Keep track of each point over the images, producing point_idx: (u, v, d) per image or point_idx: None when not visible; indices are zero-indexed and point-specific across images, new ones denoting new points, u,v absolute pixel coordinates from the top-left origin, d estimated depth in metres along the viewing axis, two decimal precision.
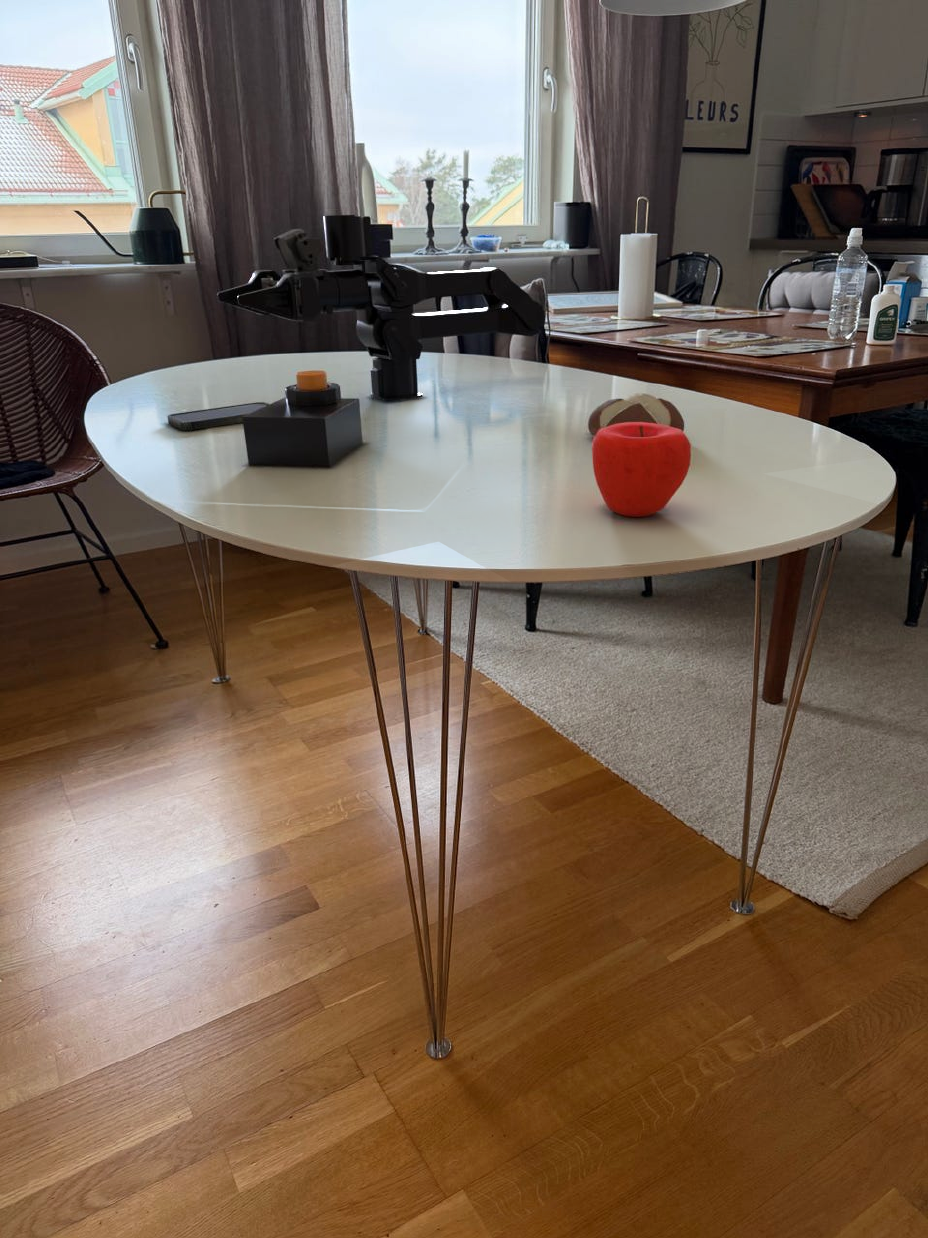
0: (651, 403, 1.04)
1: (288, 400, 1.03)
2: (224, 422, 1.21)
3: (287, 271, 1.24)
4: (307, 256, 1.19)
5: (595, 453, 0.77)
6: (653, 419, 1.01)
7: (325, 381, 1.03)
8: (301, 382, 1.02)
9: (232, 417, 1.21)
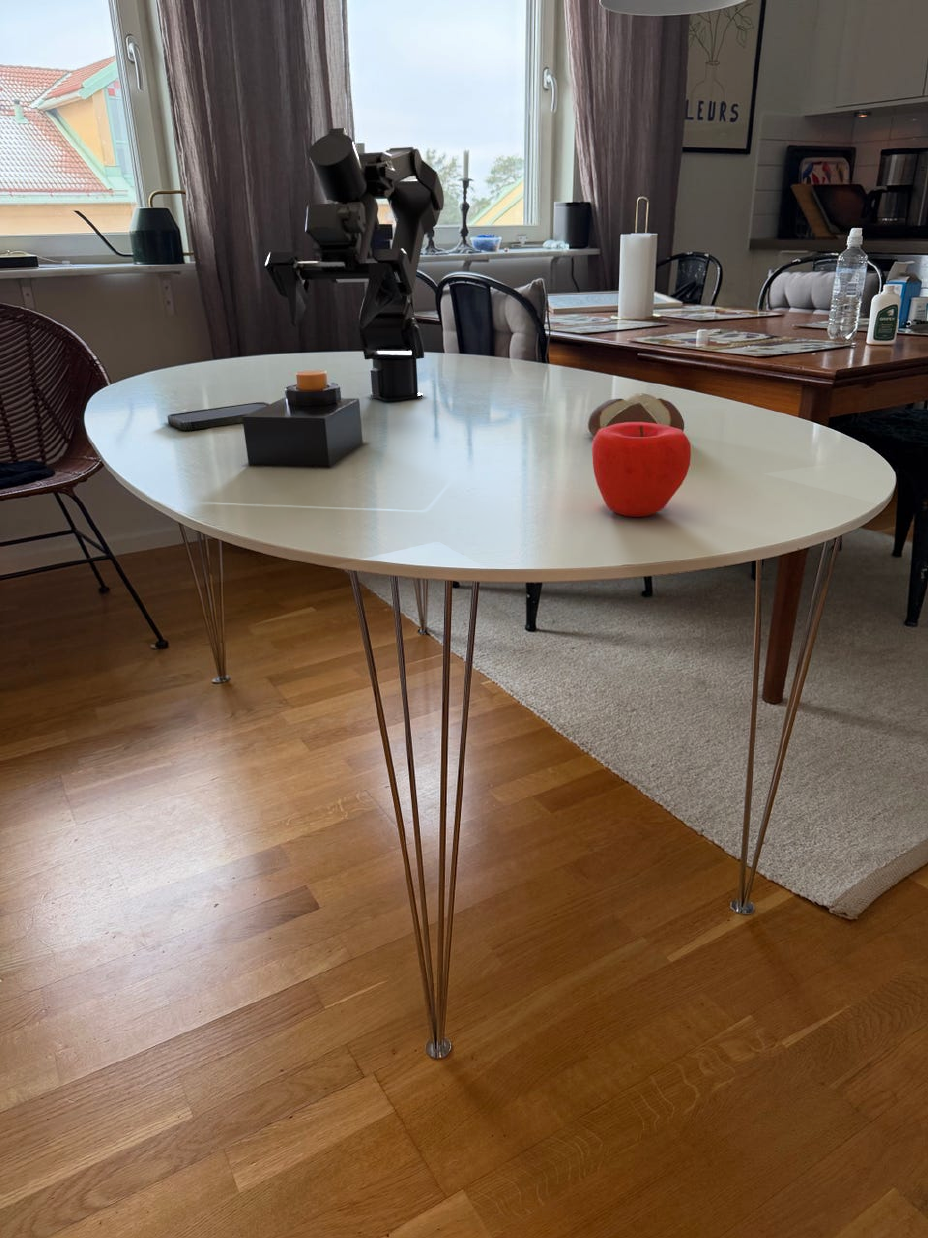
0: (651, 403, 1.04)
1: (288, 400, 1.03)
2: (224, 422, 1.21)
3: (321, 247, 1.10)
4: (363, 228, 1.07)
5: (595, 453, 0.77)
6: (653, 419, 1.01)
7: (325, 381, 1.03)
8: (301, 382, 1.02)
9: (232, 417, 1.21)
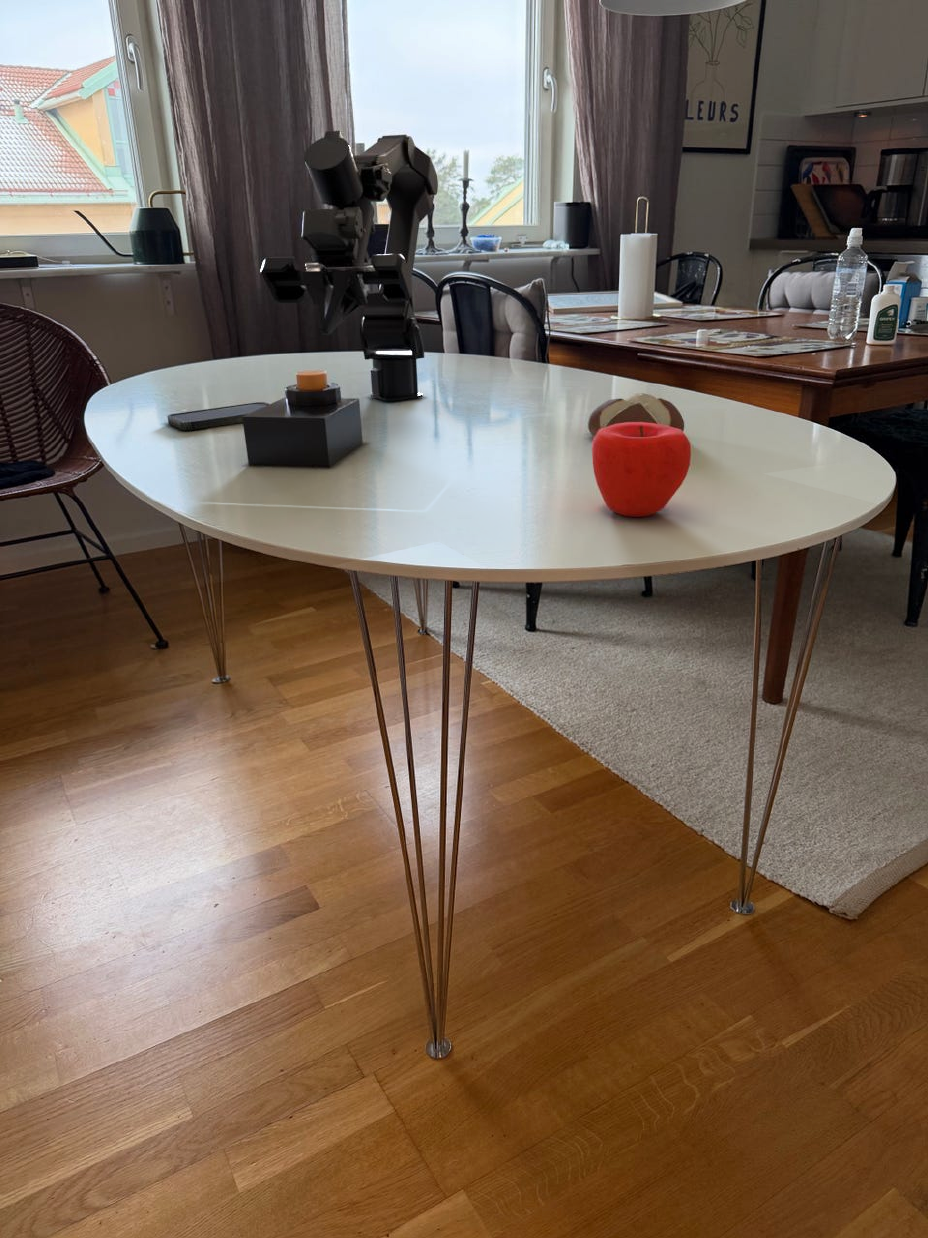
0: (651, 403, 1.04)
1: (288, 400, 1.03)
2: (224, 422, 1.21)
3: (318, 252, 1.08)
4: (360, 233, 1.05)
5: (595, 453, 0.77)
6: (653, 419, 1.01)
7: (325, 381, 1.03)
8: (301, 382, 1.02)
9: (232, 417, 1.21)
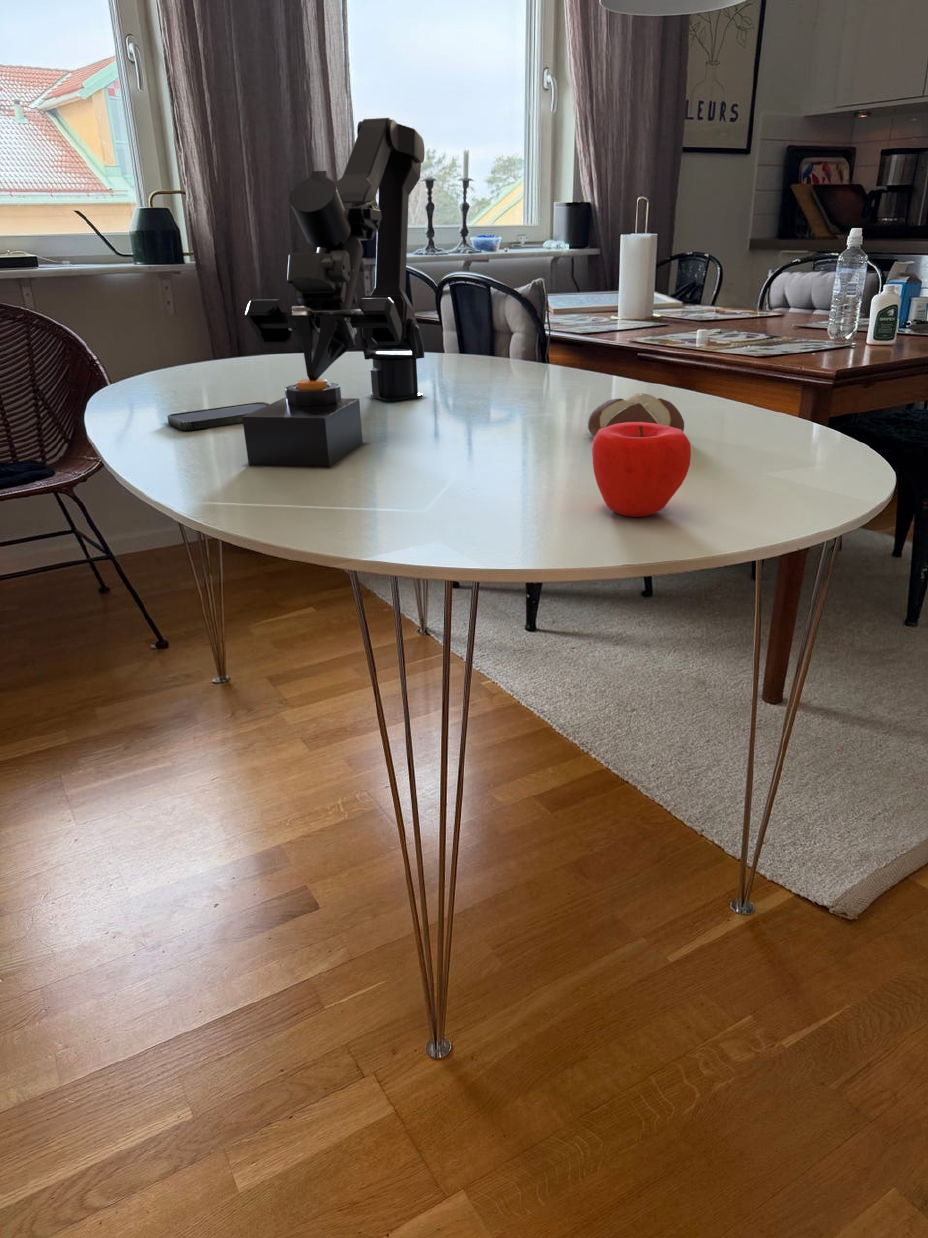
0: (651, 403, 1.04)
1: (288, 400, 1.03)
2: (224, 422, 1.21)
3: (304, 295, 1.04)
4: (348, 277, 1.02)
5: (595, 453, 0.77)
6: (653, 419, 1.01)
7: None
8: None
9: (232, 417, 1.21)
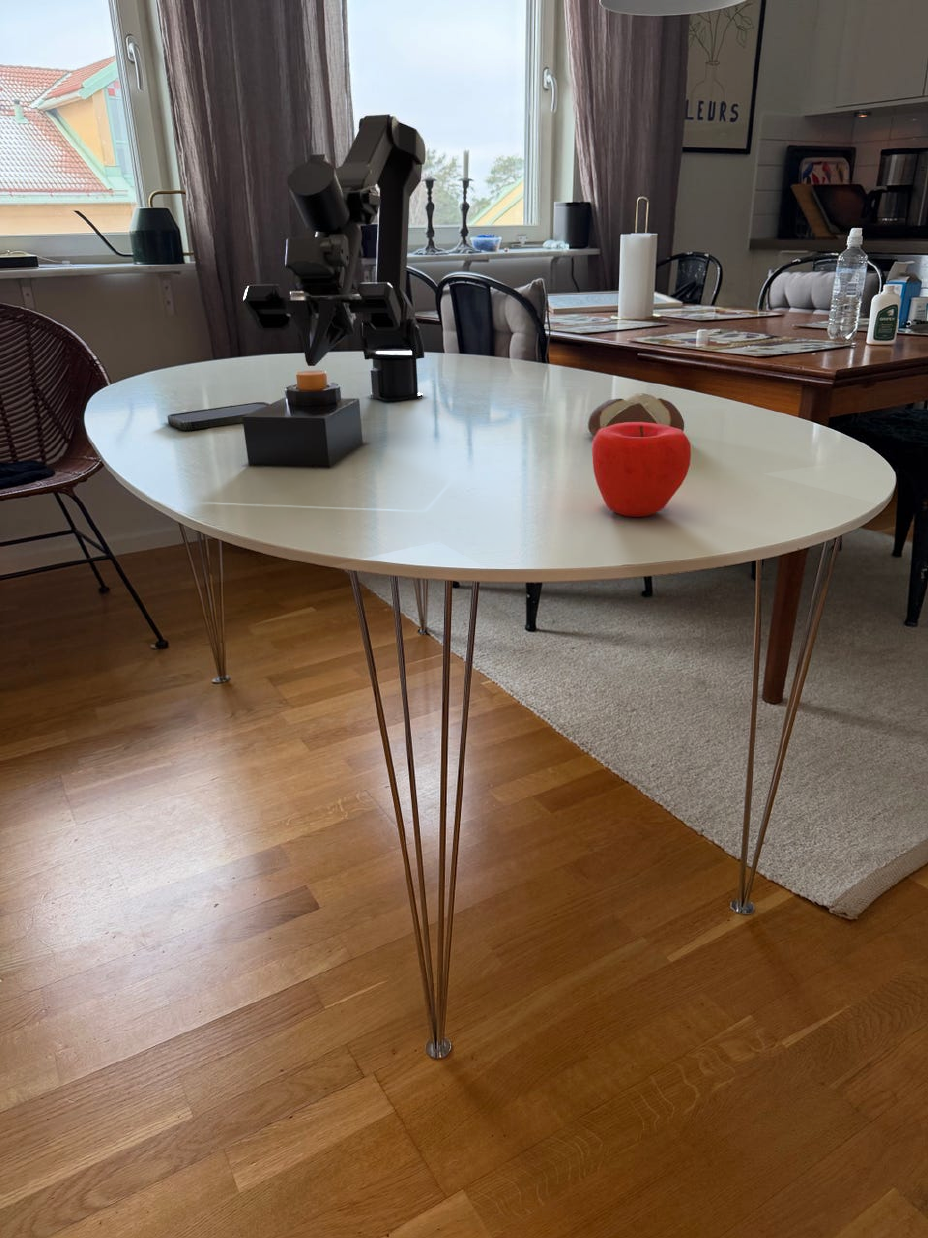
0: (651, 403, 1.04)
1: (288, 400, 1.03)
2: (224, 422, 1.21)
3: (302, 280, 1.04)
4: (347, 261, 1.01)
5: (595, 453, 0.77)
6: (653, 419, 1.01)
7: (325, 381, 1.03)
8: (301, 382, 1.02)
9: (232, 417, 1.21)
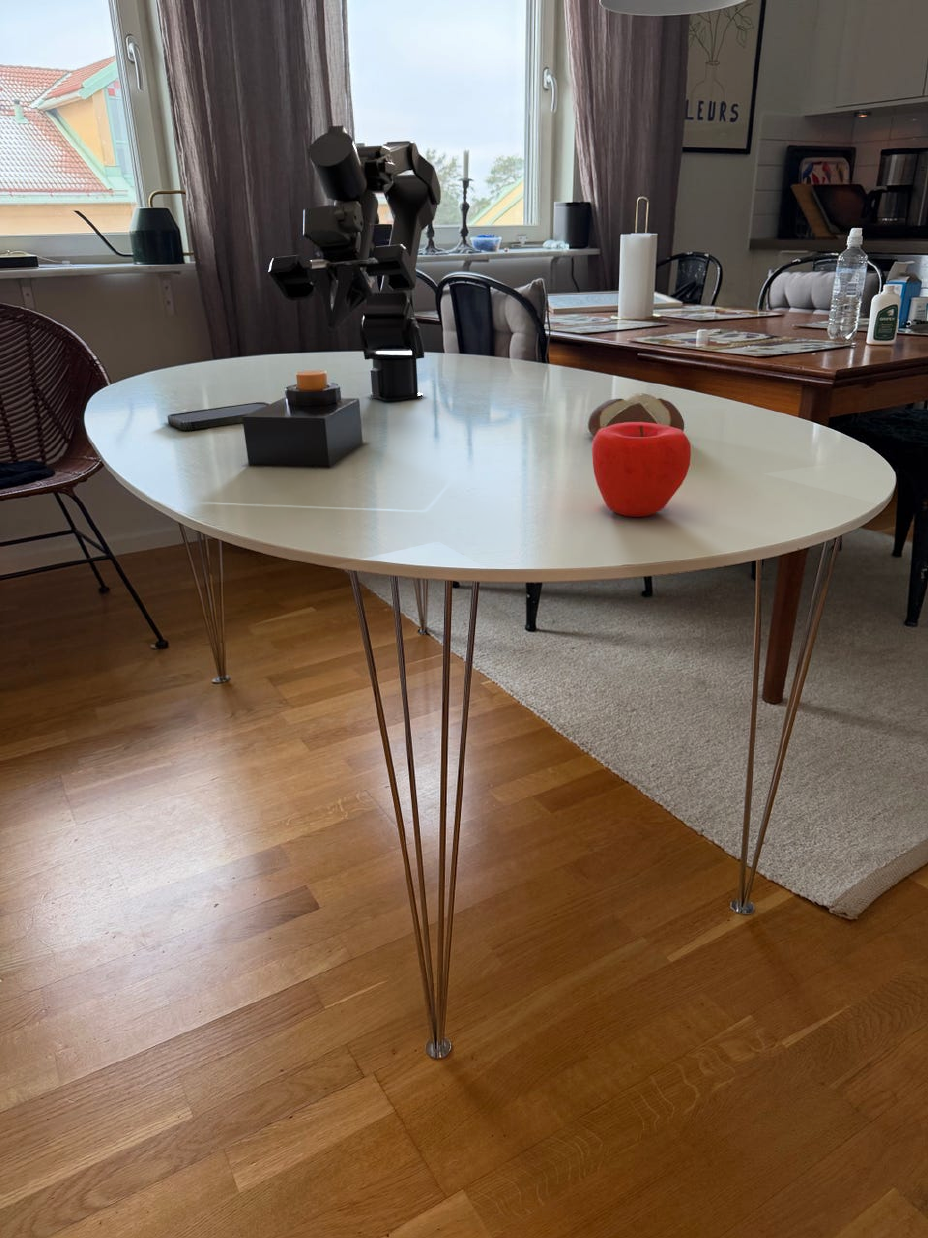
0: (651, 403, 1.04)
1: (288, 400, 1.03)
2: (224, 422, 1.21)
3: (322, 249, 1.10)
4: (361, 227, 1.06)
5: (595, 453, 0.77)
6: (653, 419, 1.01)
7: (325, 381, 1.03)
8: (301, 382, 1.02)
9: (232, 417, 1.21)
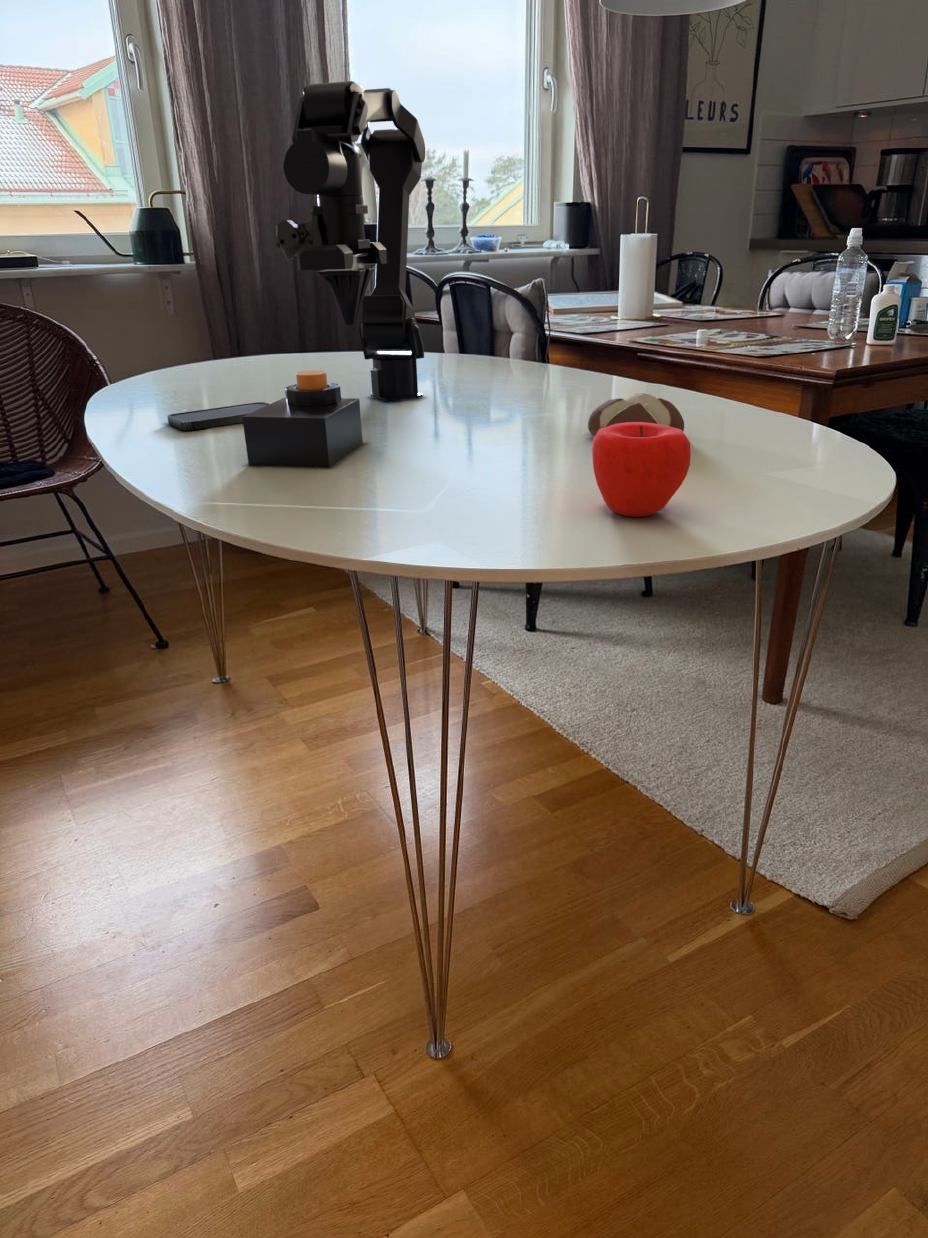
0: (651, 403, 1.04)
1: (288, 400, 1.03)
2: (224, 422, 1.21)
3: None
4: (294, 240, 1.09)
5: (595, 453, 0.77)
6: (653, 419, 1.01)
7: (325, 381, 1.03)
8: (301, 382, 1.02)
9: (232, 417, 1.21)
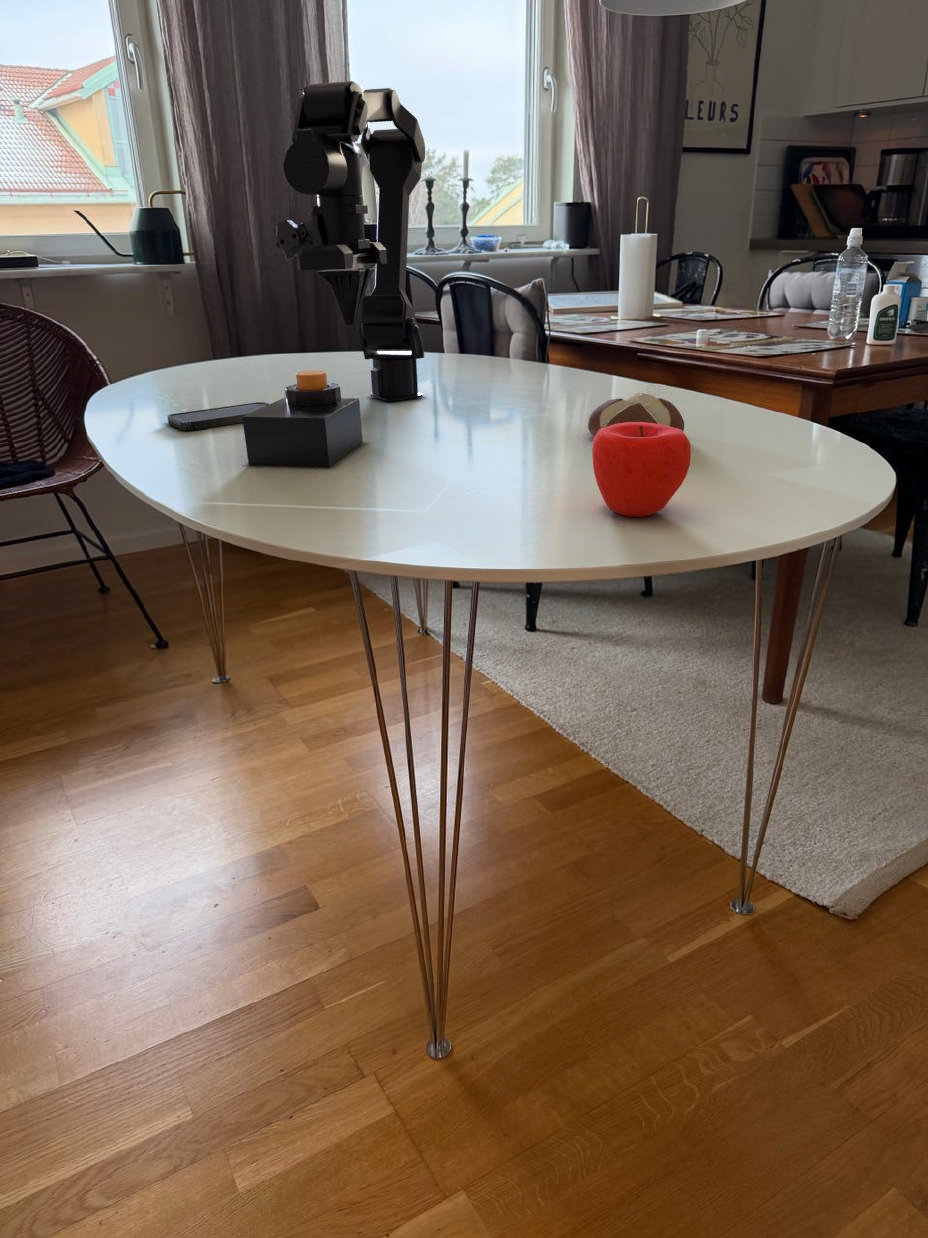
0: (651, 403, 1.04)
1: (288, 400, 1.03)
2: (224, 422, 1.21)
3: None
4: (294, 240, 1.09)
5: (595, 453, 0.77)
6: (653, 419, 1.01)
7: (325, 381, 1.03)
8: (301, 382, 1.02)
9: (232, 417, 1.21)
